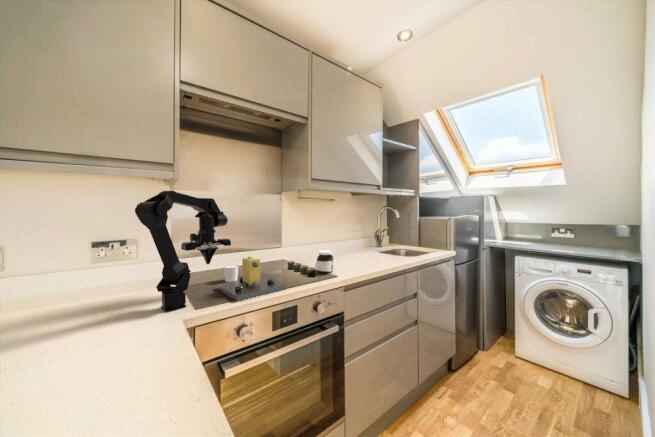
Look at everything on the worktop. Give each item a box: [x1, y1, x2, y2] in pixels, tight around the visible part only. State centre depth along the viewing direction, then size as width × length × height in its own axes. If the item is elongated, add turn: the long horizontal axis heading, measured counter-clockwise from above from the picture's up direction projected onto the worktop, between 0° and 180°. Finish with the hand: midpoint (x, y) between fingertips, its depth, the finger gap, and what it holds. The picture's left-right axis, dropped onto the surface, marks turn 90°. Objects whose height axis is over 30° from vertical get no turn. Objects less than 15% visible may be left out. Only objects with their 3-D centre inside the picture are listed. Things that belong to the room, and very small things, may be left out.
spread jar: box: [314, 249, 335, 275], centre depth 141 cm, size 12×11×12 cm
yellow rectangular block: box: [241, 255, 261, 284], centre depth 111 cm, size 5×9×12 cm, turn 42°
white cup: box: [223, 264, 239, 283], centre depth 126 cm, size 7×7×7 cm
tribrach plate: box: [216, 274, 287, 303], centre depth 112 cm, size 22×22×5 cm
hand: (207, 264), depth 108 cm, fingers closed
